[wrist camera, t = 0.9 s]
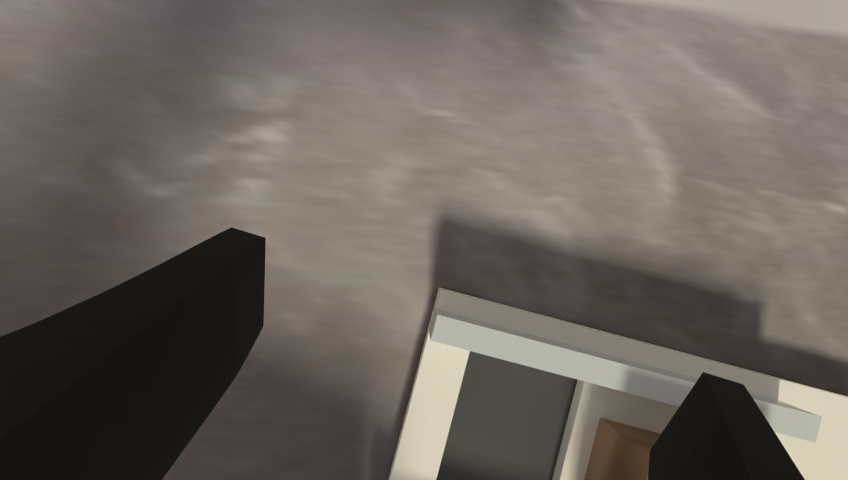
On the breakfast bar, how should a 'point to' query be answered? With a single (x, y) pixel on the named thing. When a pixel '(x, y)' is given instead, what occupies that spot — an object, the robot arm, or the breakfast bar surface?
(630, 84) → the breakfast bar surface
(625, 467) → the walnut block
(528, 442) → the trap channel
